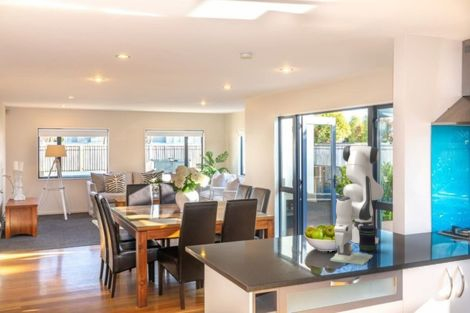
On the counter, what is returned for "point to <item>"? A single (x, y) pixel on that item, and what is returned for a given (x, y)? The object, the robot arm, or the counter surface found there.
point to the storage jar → (367, 239)
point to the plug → (345, 249)
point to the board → (352, 258)
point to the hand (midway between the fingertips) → (344, 251)
